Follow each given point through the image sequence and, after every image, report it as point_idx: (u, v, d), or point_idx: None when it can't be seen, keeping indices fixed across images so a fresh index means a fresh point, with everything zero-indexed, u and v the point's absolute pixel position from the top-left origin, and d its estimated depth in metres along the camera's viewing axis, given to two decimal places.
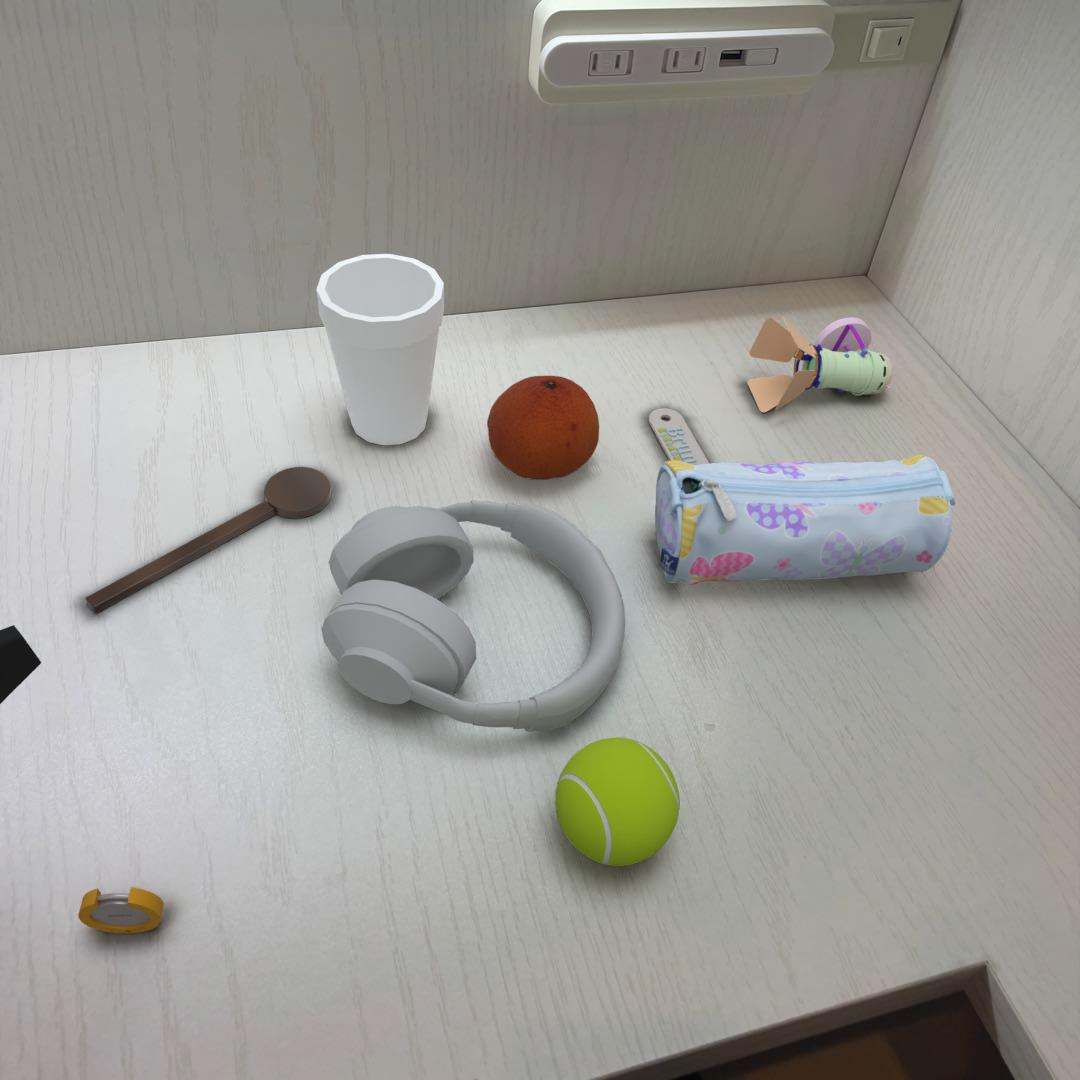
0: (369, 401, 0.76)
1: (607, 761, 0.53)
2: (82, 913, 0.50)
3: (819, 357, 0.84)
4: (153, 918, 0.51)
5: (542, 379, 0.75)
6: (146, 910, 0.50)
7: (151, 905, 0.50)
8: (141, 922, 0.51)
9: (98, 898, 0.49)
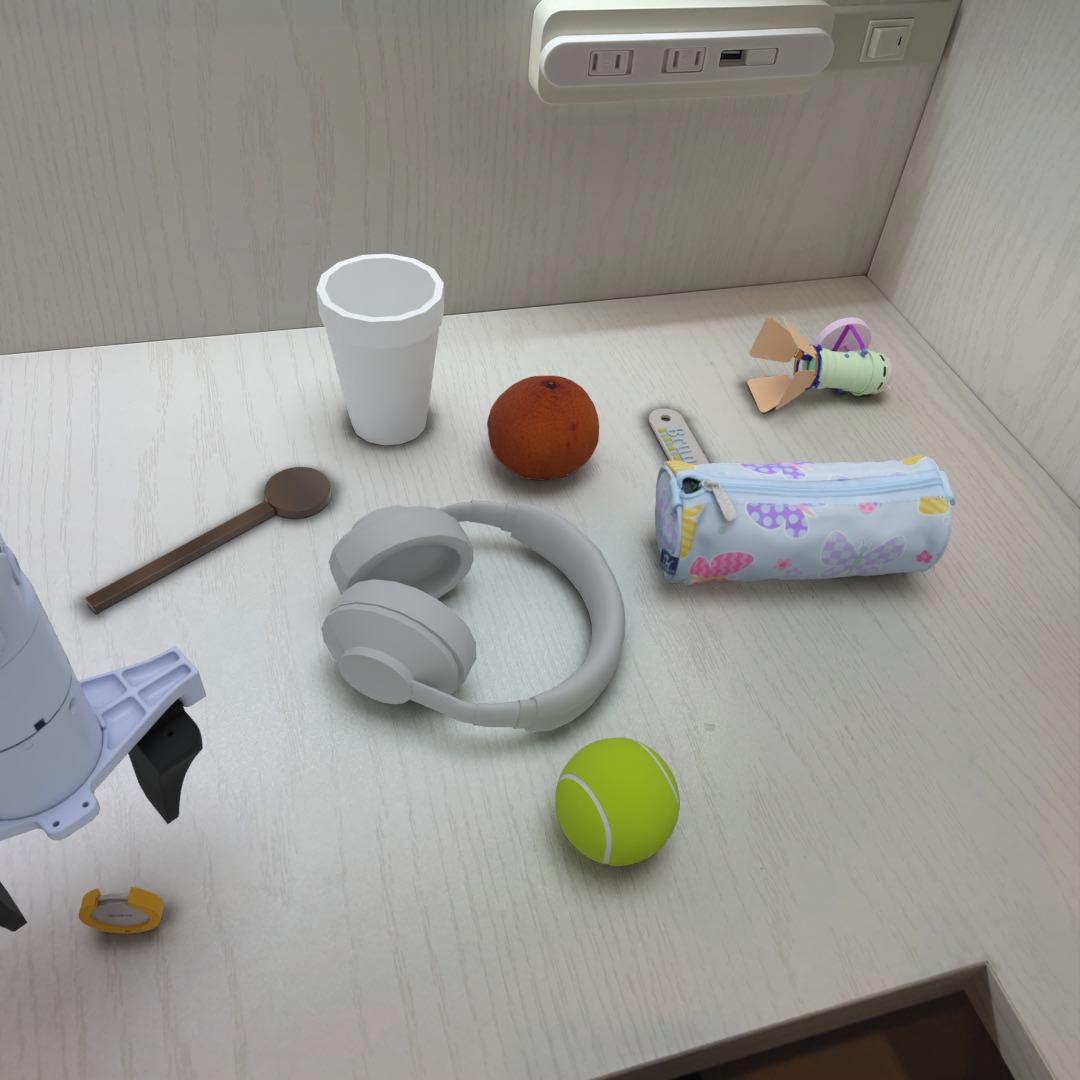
0: (369, 401, 0.76)
1: (607, 761, 0.53)
2: (82, 913, 0.50)
3: (819, 357, 0.84)
4: (153, 918, 0.51)
5: (542, 379, 0.75)
6: (146, 910, 0.50)
7: (151, 905, 0.50)
8: (141, 922, 0.51)
9: (98, 898, 0.49)
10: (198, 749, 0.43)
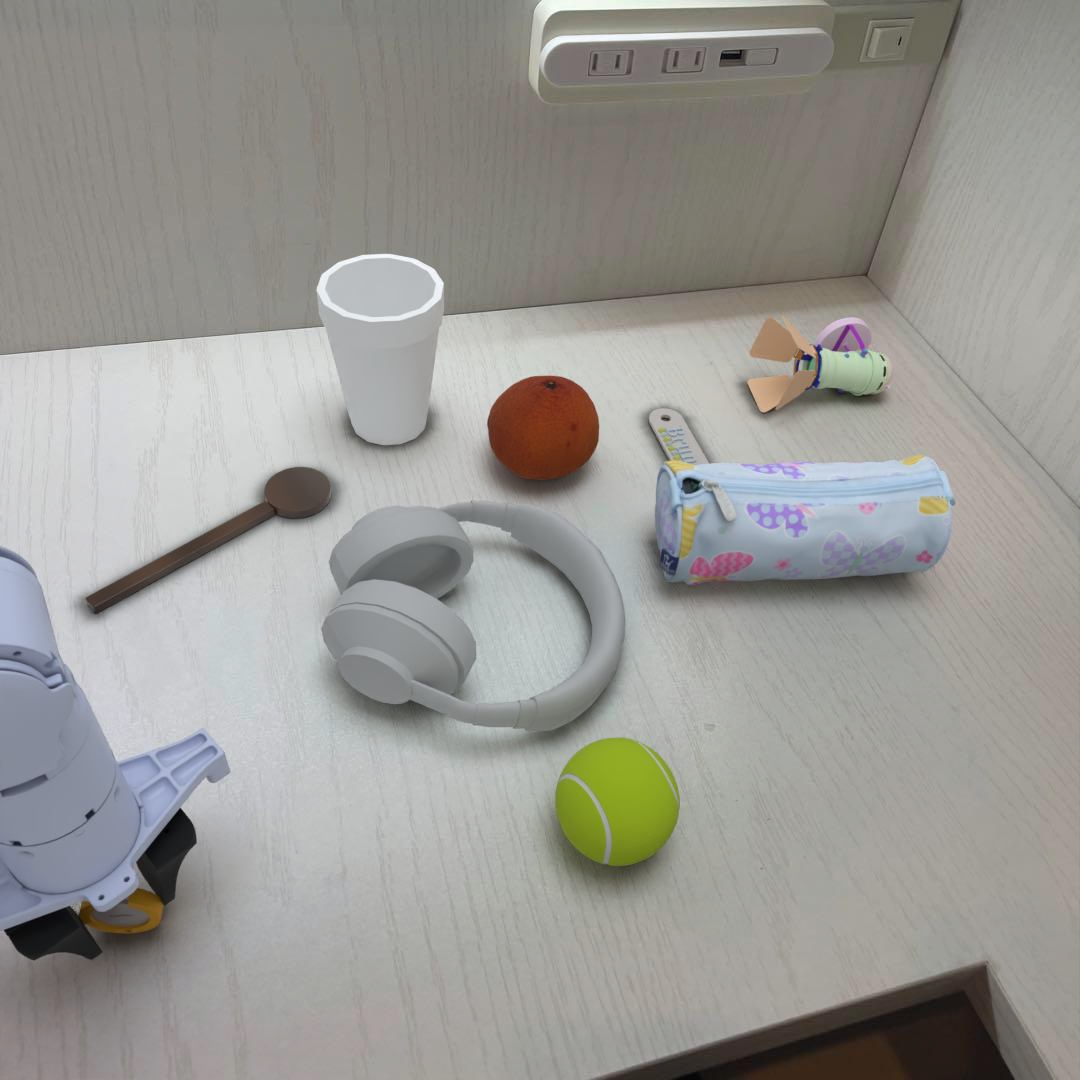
0: (369, 401, 0.76)
1: (607, 761, 0.53)
2: (82, 913, 0.50)
3: (819, 357, 0.84)
4: (153, 918, 0.51)
5: (542, 379, 0.75)
6: (146, 910, 0.50)
7: (151, 905, 0.50)
8: (141, 922, 0.51)
9: None
10: (192, 844, 0.47)
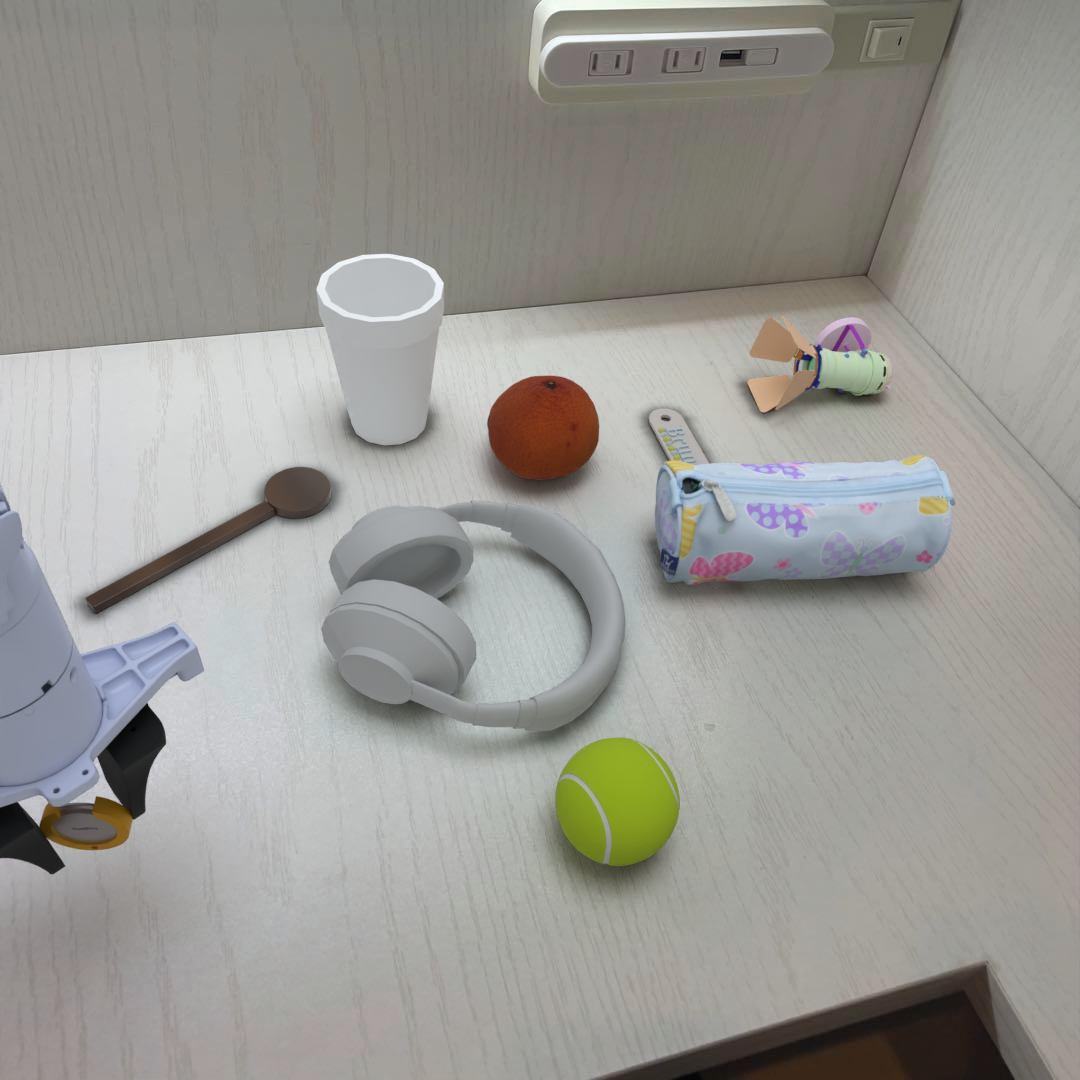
0: (369, 401, 0.76)
1: (607, 761, 0.53)
2: (43, 824, 0.46)
3: (819, 357, 0.84)
4: (121, 831, 0.47)
5: (542, 379, 0.75)
6: (113, 822, 0.46)
7: (118, 817, 0.46)
8: (108, 838, 0.47)
9: (60, 807, 0.45)
10: (161, 744, 0.43)
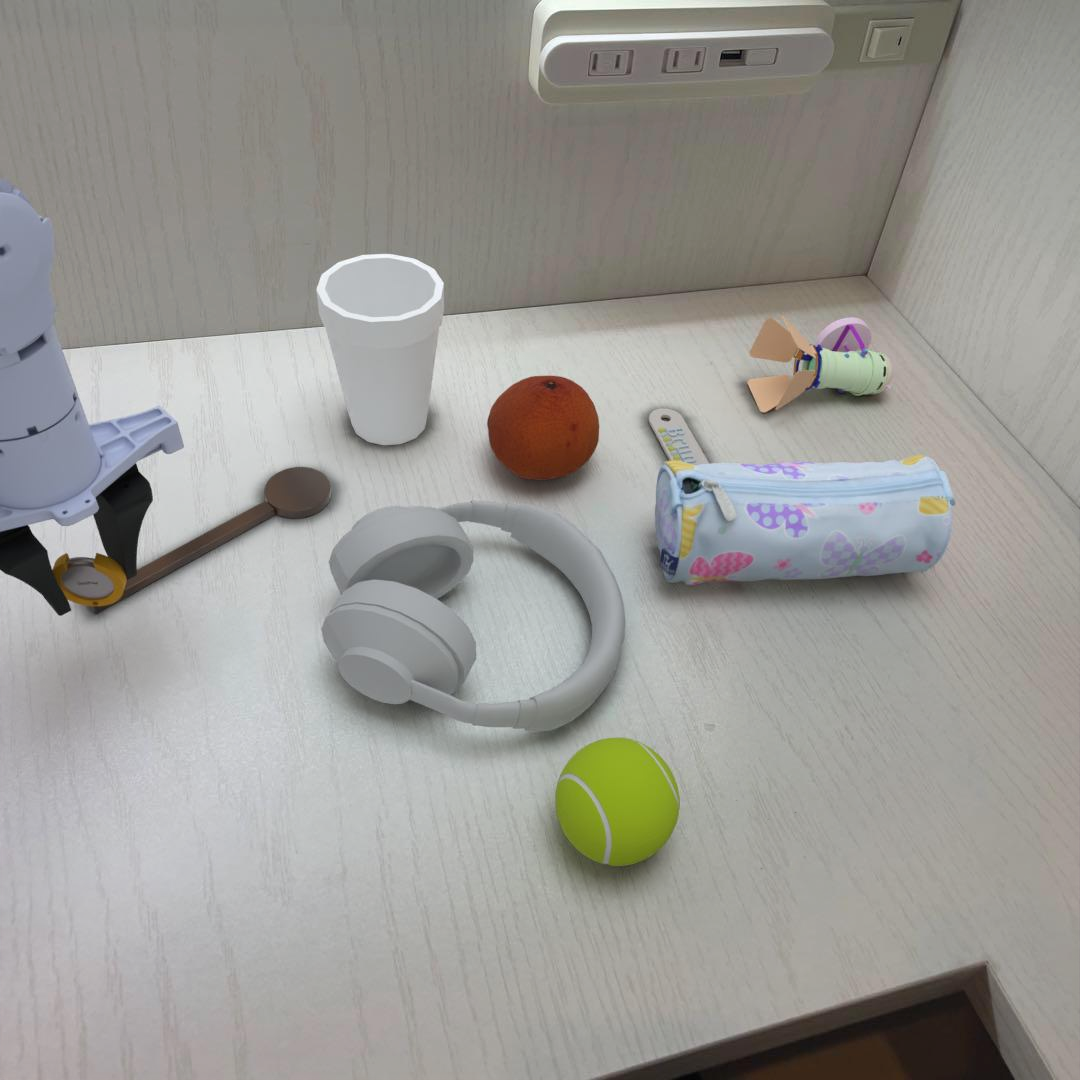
0: (369, 401, 0.76)
1: (607, 761, 0.53)
2: None
3: (819, 357, 0.84)
4: (116, 586, 0.57)
5: (542, 379, 0.75)
6: (110, 575, 0.56)
7: (114, 571, 0.56)
8: (106, 594, 0.57)
9: (67, 560, 0.55)
10: (148, 499, 0.53)
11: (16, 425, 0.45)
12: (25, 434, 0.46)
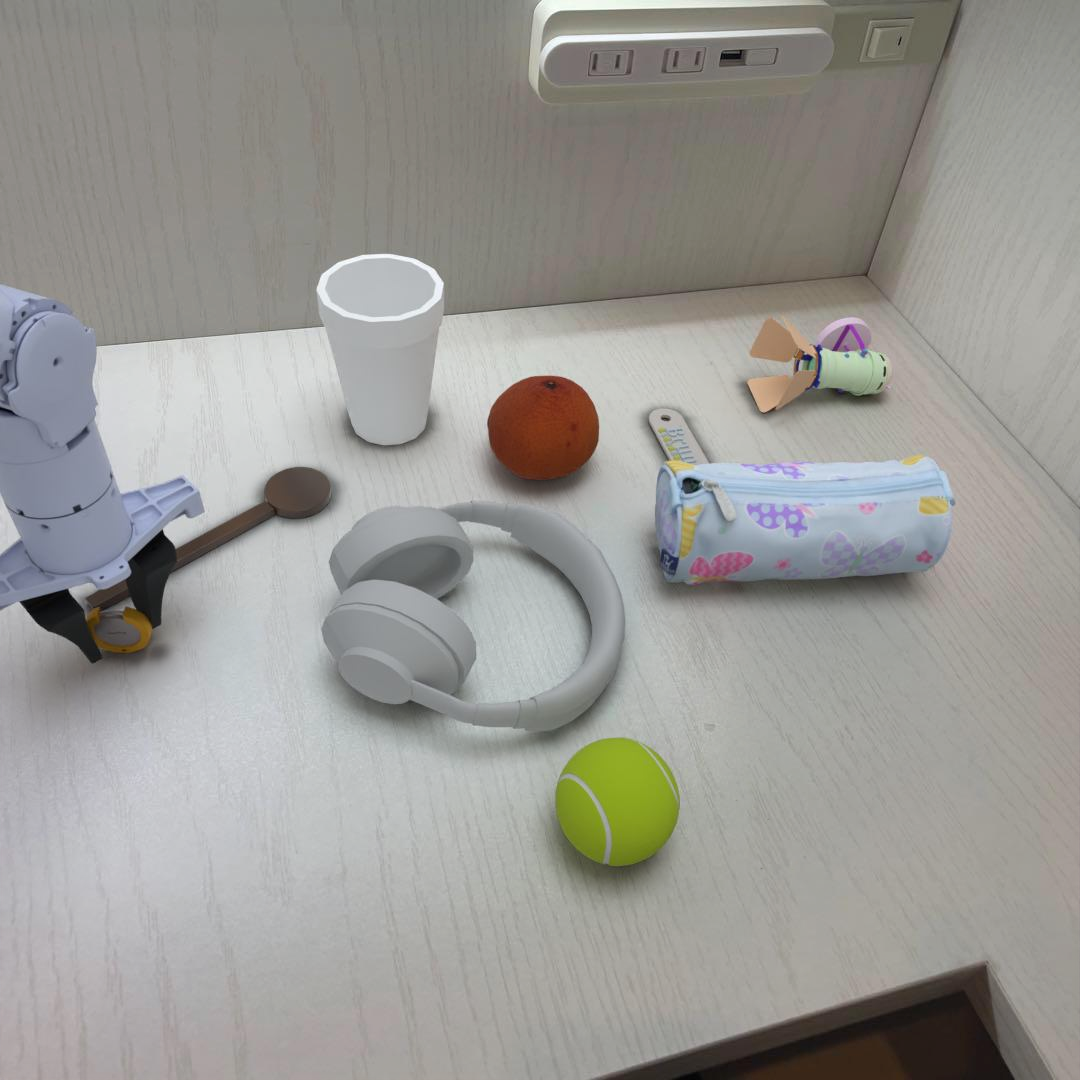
0: (369, 401, 0.76)
1: (607, 761, 0.53)
2: None
3: (819, 357, 0.84)
4: (143, 635, 0.63)
5: (542, 379, 0.75)
6: (138, 626, 0.62)
7: (142, 622, 0.62)
8: (133, 642, 0.64)
9: (99, 613, 0.62)
10: (174, 560, 0.59)
11: (63, 504, 0.51)
12: (69, 512, 0.52)
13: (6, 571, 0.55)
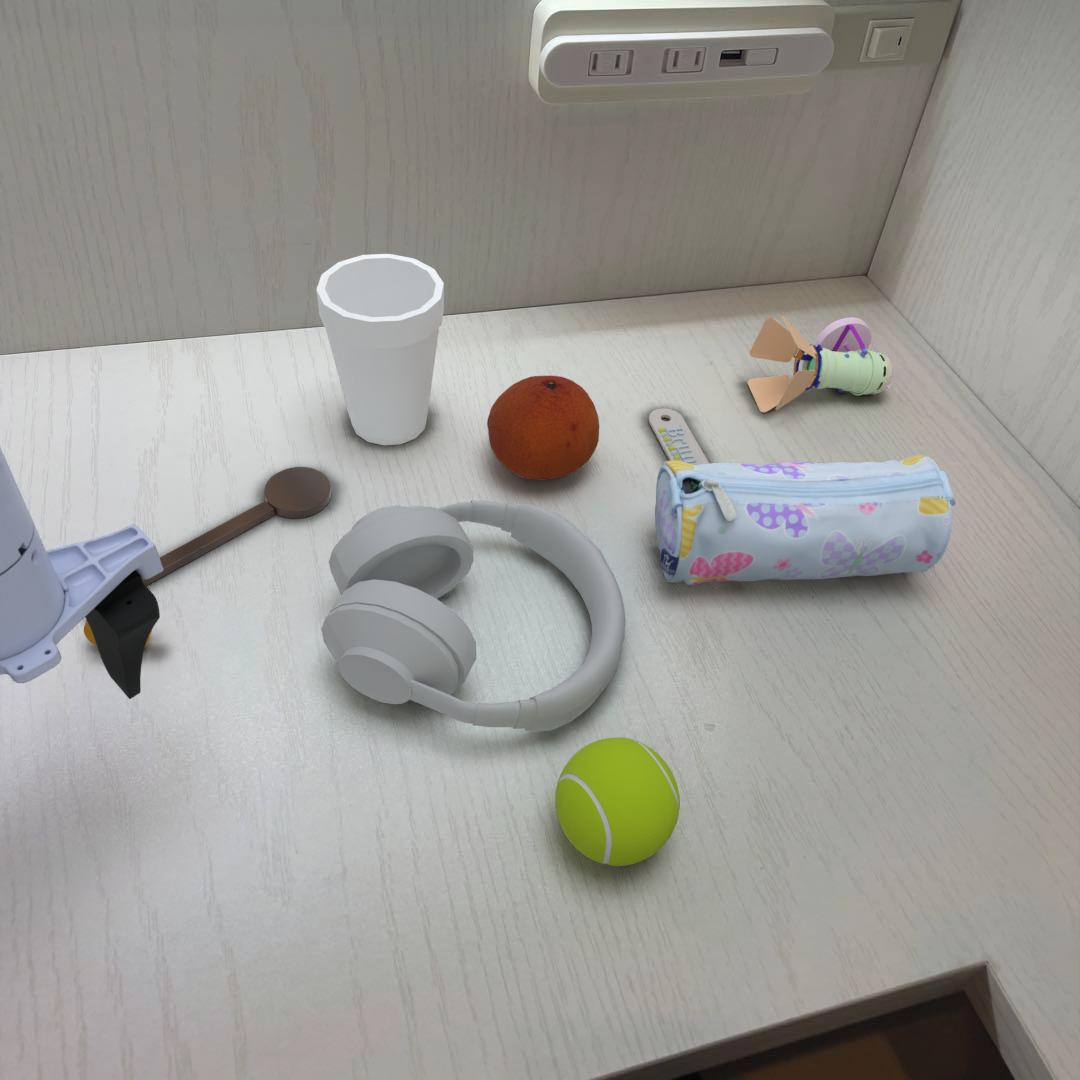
0: (369, 401, 0.76)
1: (607, 761, 0.53)
2: (87, 627, 0.62)
3: (819, 357, 0.84)
4: None
5: (542, 379, 0.75)
6: None
7: None
8: None
9: None
10: (155, 617, 0.47)
11: None
12: None
13: None
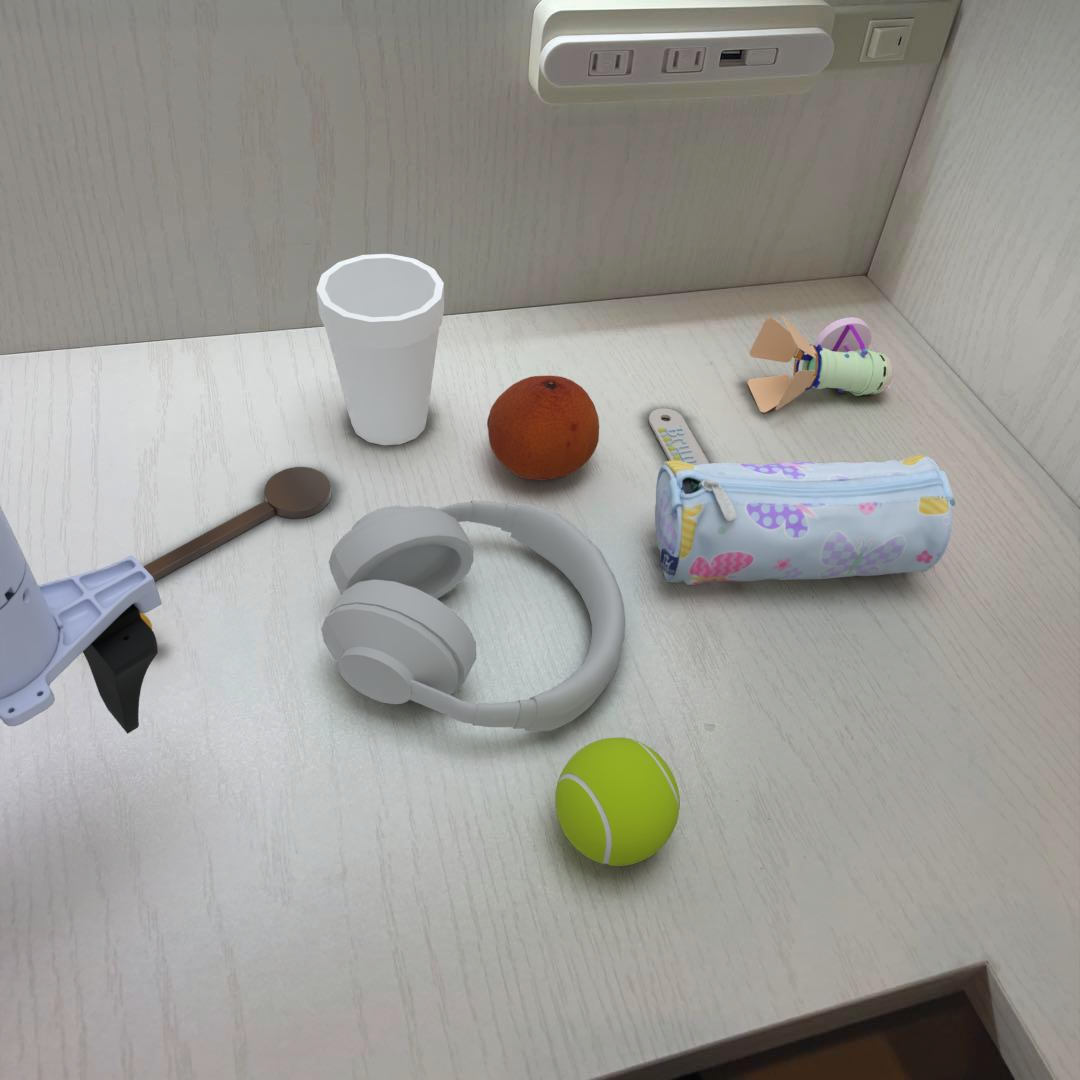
0: (369, 401, 0.76)
1: (607, 761, 0.53)
2: None
3: (819, 357, 0.84)
4: None
5: (542, 379, 0.75)
6: None
7: None
8: None
9: None
10: (153, 653, 0.45)
11: None
12: None
13: None
